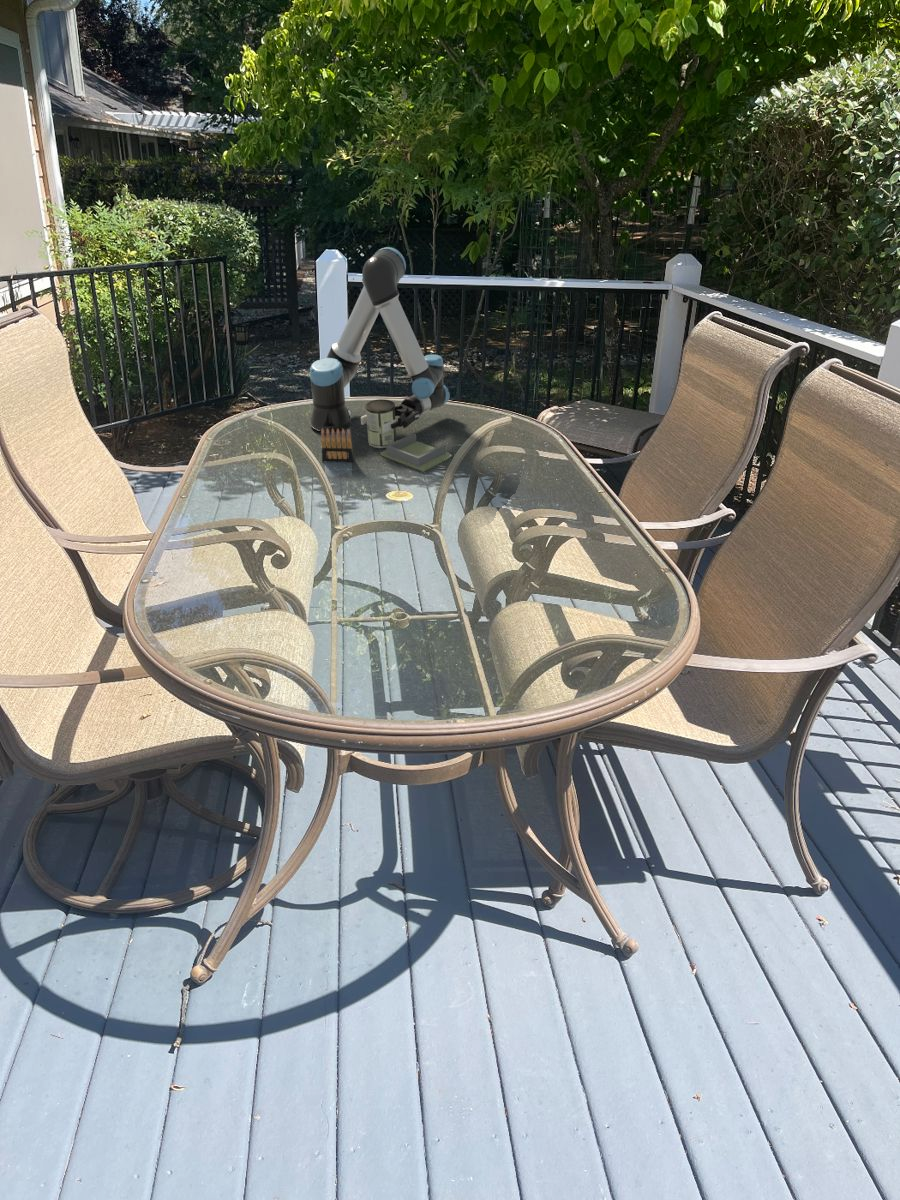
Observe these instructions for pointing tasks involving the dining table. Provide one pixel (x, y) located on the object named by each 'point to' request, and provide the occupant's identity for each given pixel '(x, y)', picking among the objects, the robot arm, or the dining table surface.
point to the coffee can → (380, 422)
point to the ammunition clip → (336, 447)
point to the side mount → (415, 453)
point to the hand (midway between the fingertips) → (372, 424)
